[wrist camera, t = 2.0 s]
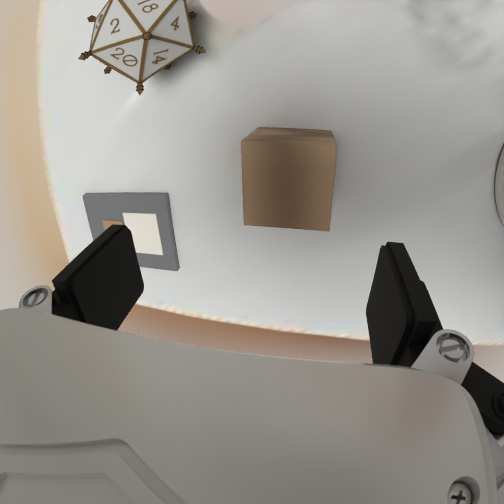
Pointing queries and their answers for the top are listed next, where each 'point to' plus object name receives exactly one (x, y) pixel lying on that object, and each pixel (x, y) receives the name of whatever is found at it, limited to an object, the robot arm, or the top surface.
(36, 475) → the robot arm
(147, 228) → the card
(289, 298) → the top surface
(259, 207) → the walnut block
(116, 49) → the game die
